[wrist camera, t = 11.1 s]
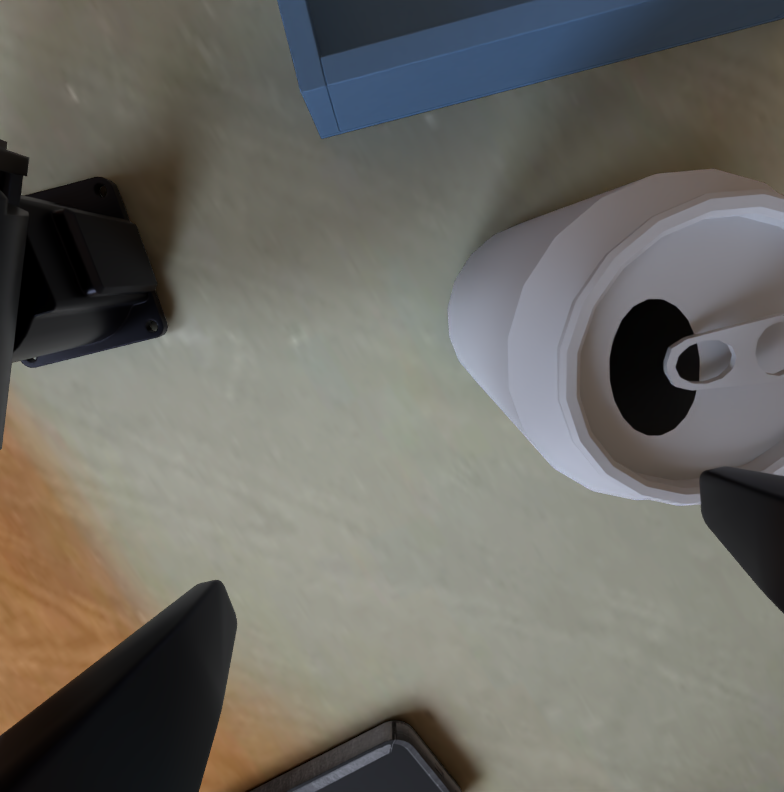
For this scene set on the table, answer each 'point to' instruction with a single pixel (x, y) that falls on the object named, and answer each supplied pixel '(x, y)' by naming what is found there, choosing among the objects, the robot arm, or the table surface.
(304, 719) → the table surface
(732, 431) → the can
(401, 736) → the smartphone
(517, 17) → the tub
